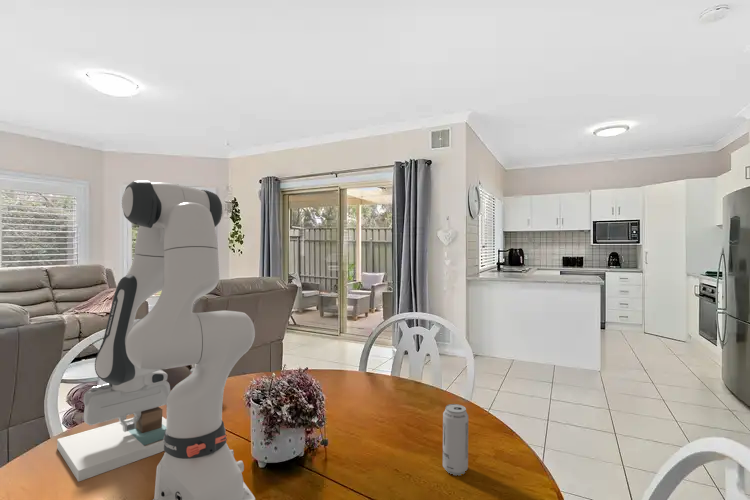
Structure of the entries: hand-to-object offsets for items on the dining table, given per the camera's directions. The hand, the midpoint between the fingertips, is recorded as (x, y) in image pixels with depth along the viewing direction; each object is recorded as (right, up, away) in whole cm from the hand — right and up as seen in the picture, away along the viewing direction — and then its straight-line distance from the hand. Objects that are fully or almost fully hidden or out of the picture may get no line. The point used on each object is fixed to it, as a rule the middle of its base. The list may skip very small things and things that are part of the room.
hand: (129, 429), depth 107 cm
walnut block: (+3, -1, +4) cm, 5 cm away
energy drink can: (+86, -5, -11) cm, 87 cm away
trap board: (-1, -4, -1) cm, 4 cm away
